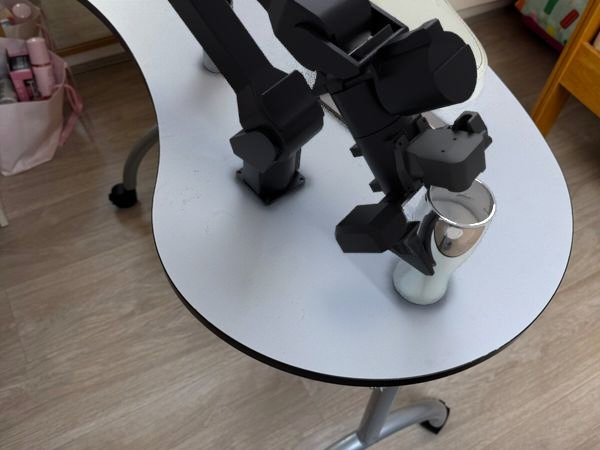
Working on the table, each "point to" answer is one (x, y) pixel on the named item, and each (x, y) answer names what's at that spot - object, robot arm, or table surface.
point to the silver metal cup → (445, 238)
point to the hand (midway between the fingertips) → (448, 253)
